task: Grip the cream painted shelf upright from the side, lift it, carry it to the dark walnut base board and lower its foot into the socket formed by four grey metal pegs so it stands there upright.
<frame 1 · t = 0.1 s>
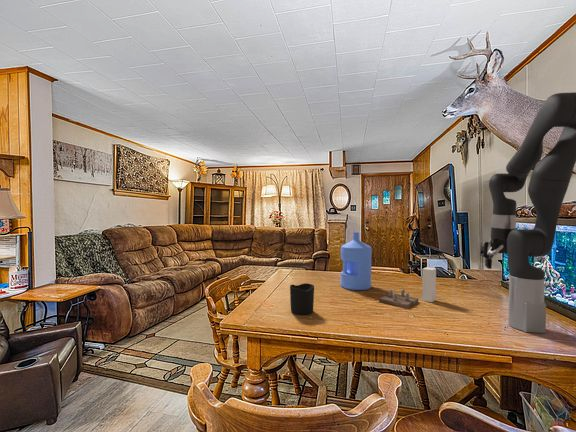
hand: (500, 268, 112), 17 cm above the table, fingers open, 8 cm apart
water jug: (355, 287, 151), on the table
peg base: (398, 302, 126), on the table
shelf upright: (428, 300, 129), on the table
pen holder: (301, 312, 114), on the table
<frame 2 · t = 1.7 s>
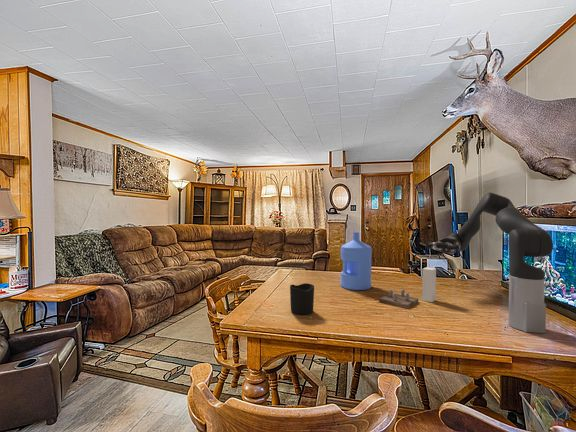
hand: (437, 247, 136), 22 cm above the table, fingers open, 8 cm apart
nothing on the table moved.
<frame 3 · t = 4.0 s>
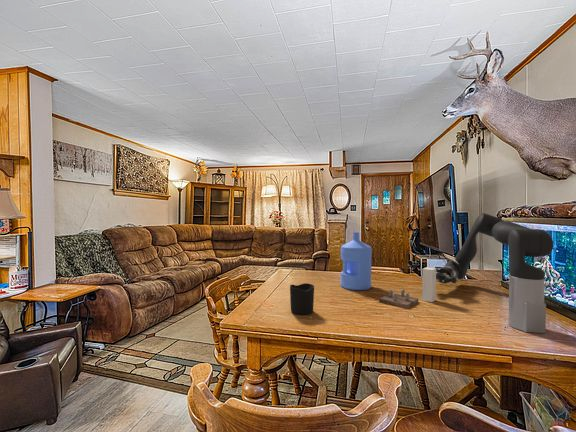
hand: (434, 279, 133), 8 cm above the table, fingers open, 8 cm apart
nothing on the table moved.
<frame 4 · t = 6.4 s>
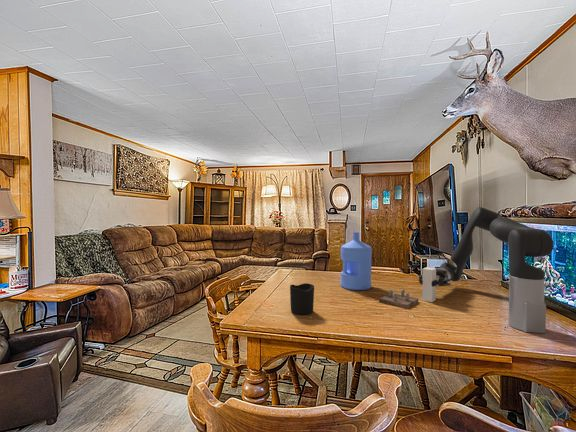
hand: (427, 283, 127), 8 cm above the table, fingers closed on shelf upright, 4 cm apart
shelf upright: (428, 300, 129), on the table, touching gripper
everything else where it was.
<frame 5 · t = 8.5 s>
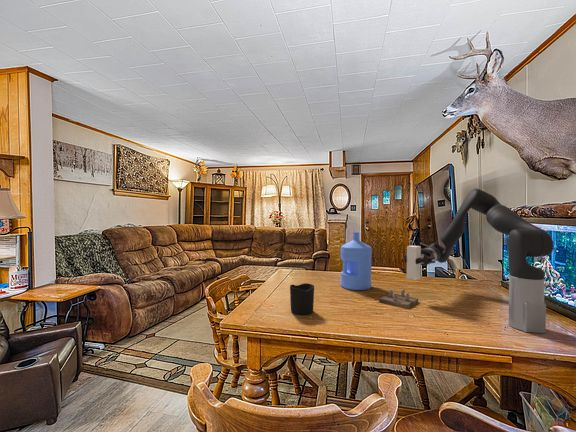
hand: (411, 260, 125), 18 cm above the table, fingers closed on shelf upright, 4 cm apart
shelf upright: (413, 278, 128), point 10 cm above the table, touching gripper
everything else where it was.
when the fingers open (11 cm above the table, at t = 11.1 s): shelf upright drops 1 cm, resting on peg base.
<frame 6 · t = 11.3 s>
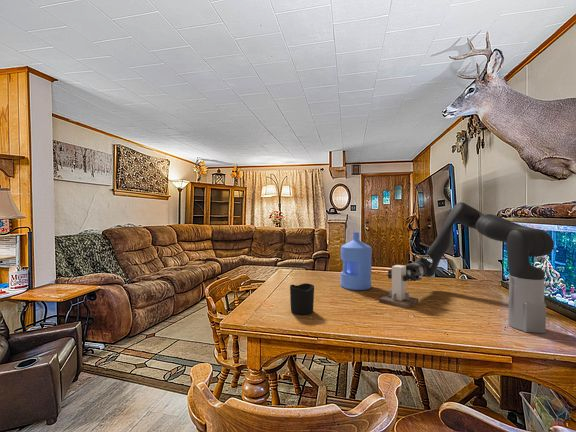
hand: (396, 277, 124), 11 cm above the table, fingers open, 6 cm apart
shelf upright: (398, 298, 126), point 2 cm above the table, touching peg base
everything else where it was.
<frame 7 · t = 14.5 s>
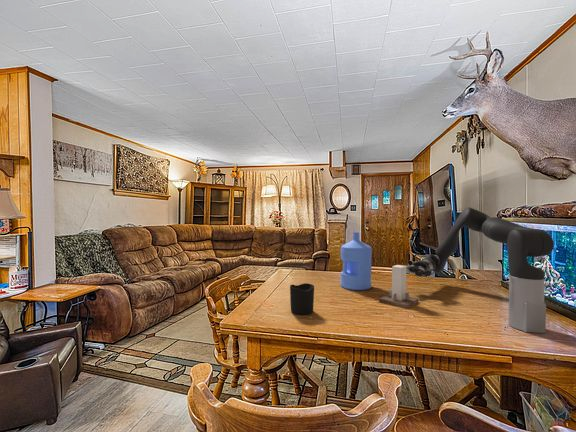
hand: (409, 272, 134), 11 cm above the table, fingers open, 8 cm apart
nothing on the table moved.
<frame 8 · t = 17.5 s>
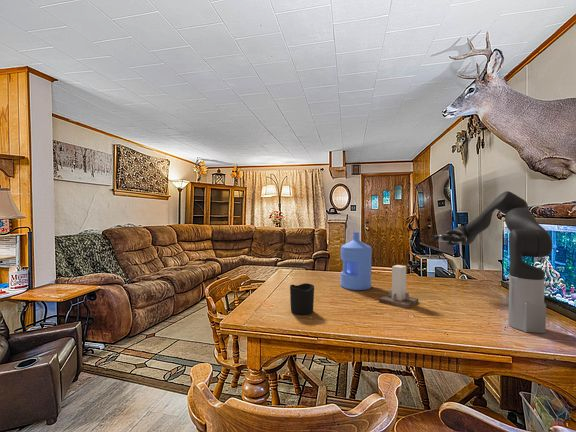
hand: (444, 239, 136), 26 cm above the table, fingers open, 8 cm apart
nothing on the table moved.
at the end: shelf upright 0.0 cm off-centre on the peg base, point 1.5 cm above the peg base's base; shelf upright tilted 0°; the gripper is holding nothing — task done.
